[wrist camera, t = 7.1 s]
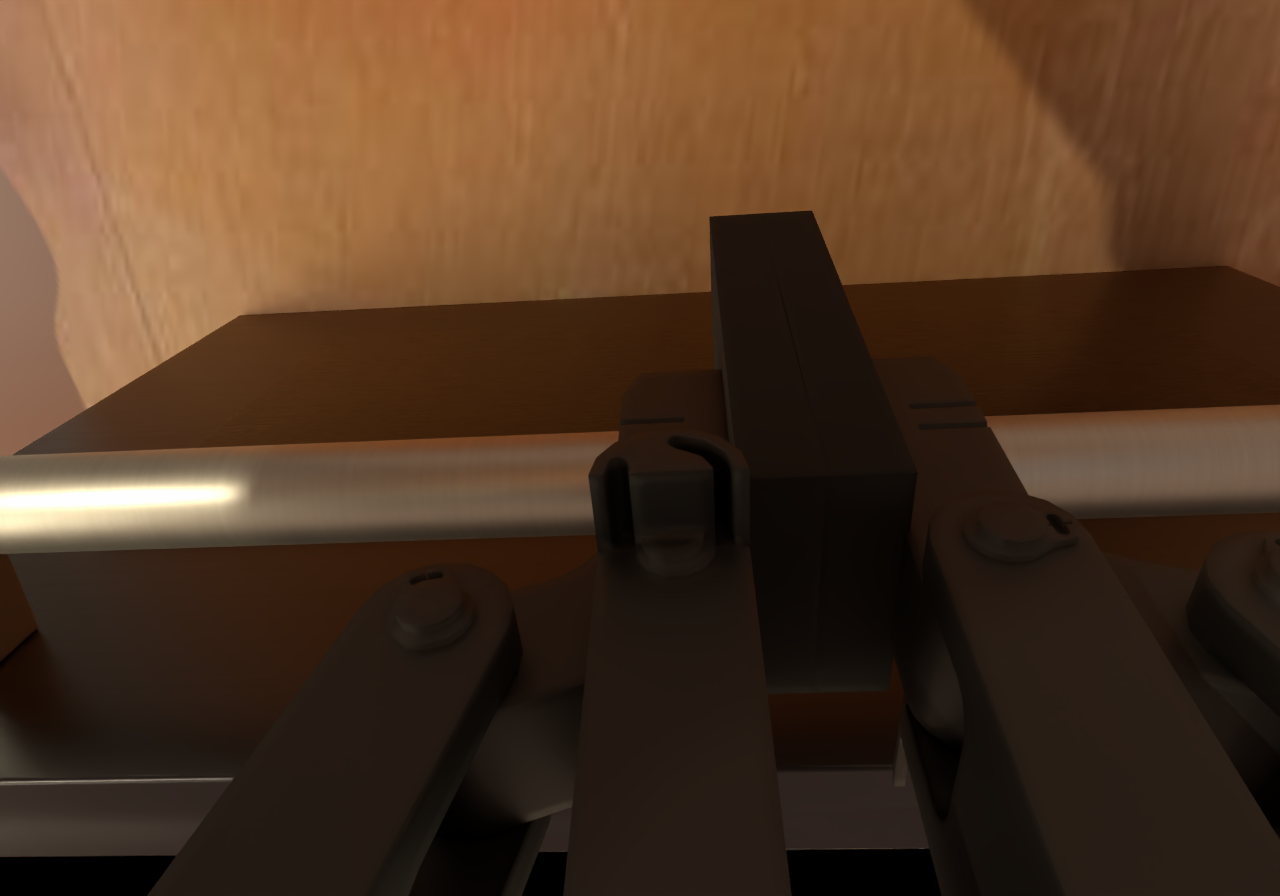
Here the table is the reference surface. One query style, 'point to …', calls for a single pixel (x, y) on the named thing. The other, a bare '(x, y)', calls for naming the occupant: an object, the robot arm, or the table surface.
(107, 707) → the oven door
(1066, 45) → the table surface
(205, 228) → the table surface
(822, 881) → the oven
